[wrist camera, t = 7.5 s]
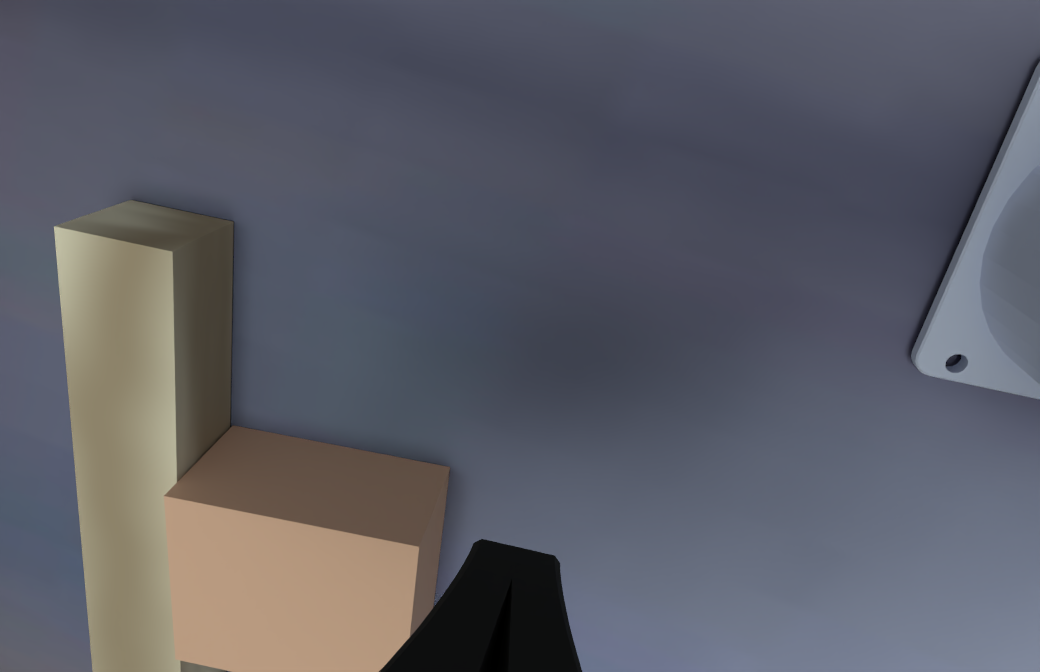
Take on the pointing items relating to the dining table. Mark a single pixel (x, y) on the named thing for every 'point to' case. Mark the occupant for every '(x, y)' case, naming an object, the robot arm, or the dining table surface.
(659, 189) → the dining table surface
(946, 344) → the robot arm
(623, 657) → the dining table surface
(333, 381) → the dining table surface
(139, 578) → the birch board
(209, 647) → the tan rectangular block
